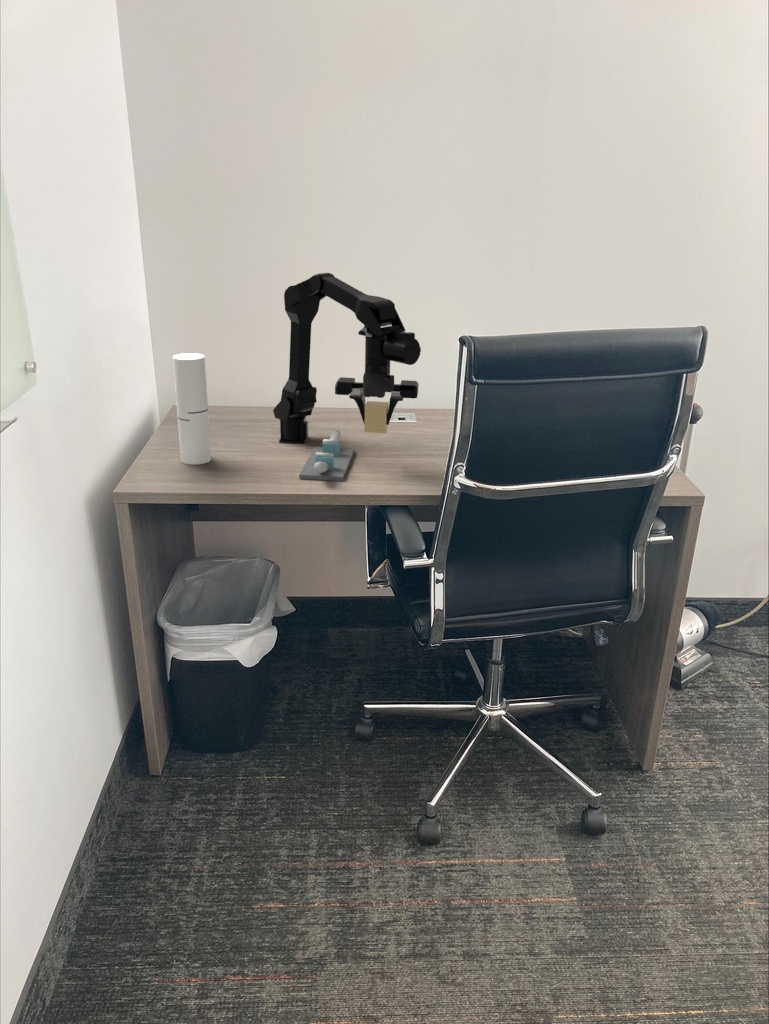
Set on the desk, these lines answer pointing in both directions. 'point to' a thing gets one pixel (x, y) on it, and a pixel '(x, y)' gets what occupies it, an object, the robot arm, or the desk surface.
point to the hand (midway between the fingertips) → (376, 423)
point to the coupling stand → (328, 460)
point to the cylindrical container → (192, 408)
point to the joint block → (376, 417)
